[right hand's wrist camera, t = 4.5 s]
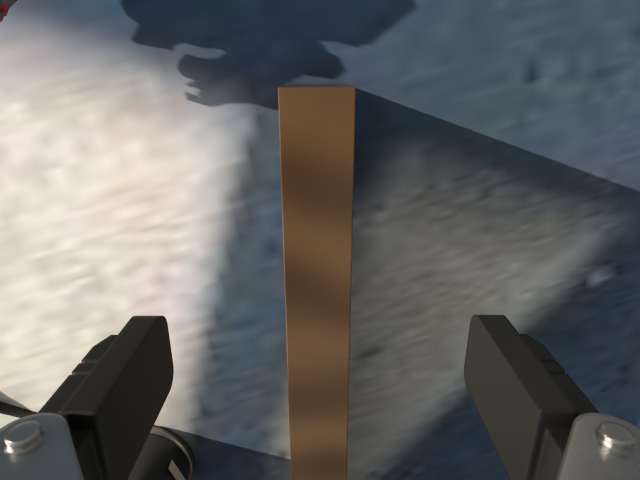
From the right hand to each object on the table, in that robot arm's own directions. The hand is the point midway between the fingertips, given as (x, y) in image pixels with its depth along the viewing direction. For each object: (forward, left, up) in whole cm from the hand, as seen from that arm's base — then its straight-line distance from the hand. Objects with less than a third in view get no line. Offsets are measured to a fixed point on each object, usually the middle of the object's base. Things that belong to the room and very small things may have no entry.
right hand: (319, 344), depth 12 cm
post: (+21, -23, -25) cm, 40 cm away
